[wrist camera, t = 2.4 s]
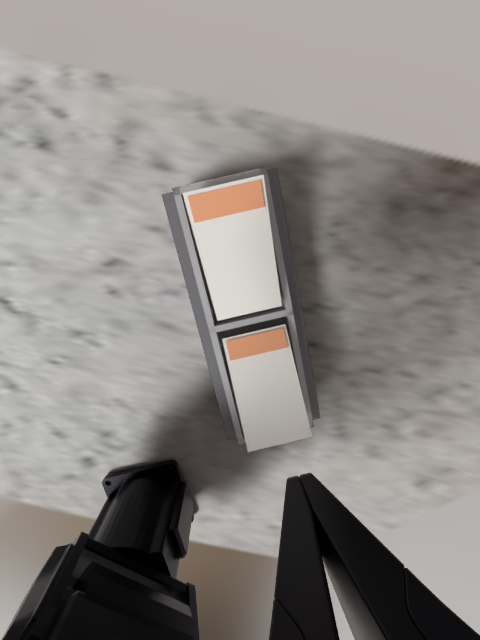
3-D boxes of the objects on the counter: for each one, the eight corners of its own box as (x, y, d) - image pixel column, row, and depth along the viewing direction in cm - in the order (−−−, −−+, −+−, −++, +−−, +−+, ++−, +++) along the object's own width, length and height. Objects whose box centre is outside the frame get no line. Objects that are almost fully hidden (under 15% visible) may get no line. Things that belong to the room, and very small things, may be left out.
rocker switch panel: (227, 415, 21) (227, 448, 17) (172, 207, 17) (157, 189, 14) (307, 397, 21) (325, 425, 17) (268, 185, 17) (280, 161, 14)
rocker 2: (247, 444, 16) (248, 453, 15) (223, 338, 16) (221, 339, 15) (307, 430, 16) (313, 437, 15) (282, 324, 16) (285, 324, 15)
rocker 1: (217, 314, 16) (217, 321, 15) (184, 193, 13) (182, 192, 12) (277, 300, 16) (282, 306, 15) (259, 176, 13) (264, 174, 12)
